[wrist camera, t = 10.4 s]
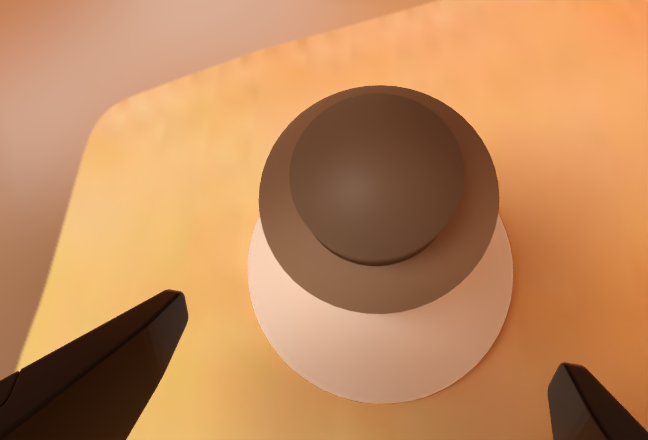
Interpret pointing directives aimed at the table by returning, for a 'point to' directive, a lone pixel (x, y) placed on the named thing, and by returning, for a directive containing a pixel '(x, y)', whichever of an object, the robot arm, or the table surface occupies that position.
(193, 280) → the table surface
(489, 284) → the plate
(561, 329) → the table surface
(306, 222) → the pepper mill
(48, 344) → the table surface
